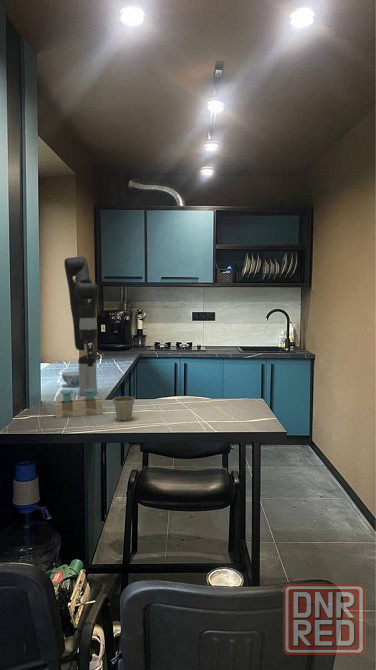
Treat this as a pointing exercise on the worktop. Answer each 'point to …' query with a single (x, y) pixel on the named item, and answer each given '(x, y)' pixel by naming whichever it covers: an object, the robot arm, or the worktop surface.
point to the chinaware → (71, 378)
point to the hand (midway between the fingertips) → (89, 365)
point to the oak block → (78, 408)
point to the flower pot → (124, 407)
